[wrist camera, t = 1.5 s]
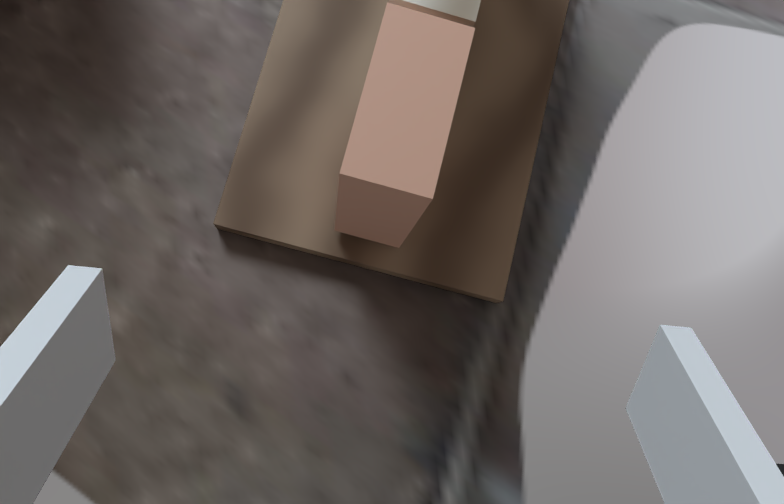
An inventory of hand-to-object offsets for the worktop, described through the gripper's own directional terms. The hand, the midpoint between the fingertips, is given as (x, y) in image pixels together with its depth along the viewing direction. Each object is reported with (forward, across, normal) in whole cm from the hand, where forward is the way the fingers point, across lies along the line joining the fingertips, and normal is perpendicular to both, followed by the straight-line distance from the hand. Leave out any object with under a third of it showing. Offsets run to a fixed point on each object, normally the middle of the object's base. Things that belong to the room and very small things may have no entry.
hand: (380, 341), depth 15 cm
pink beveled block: (+24, 0, -6) cm, 24 cm away
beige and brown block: (+30, +1, -2) cm, 30 cm away
